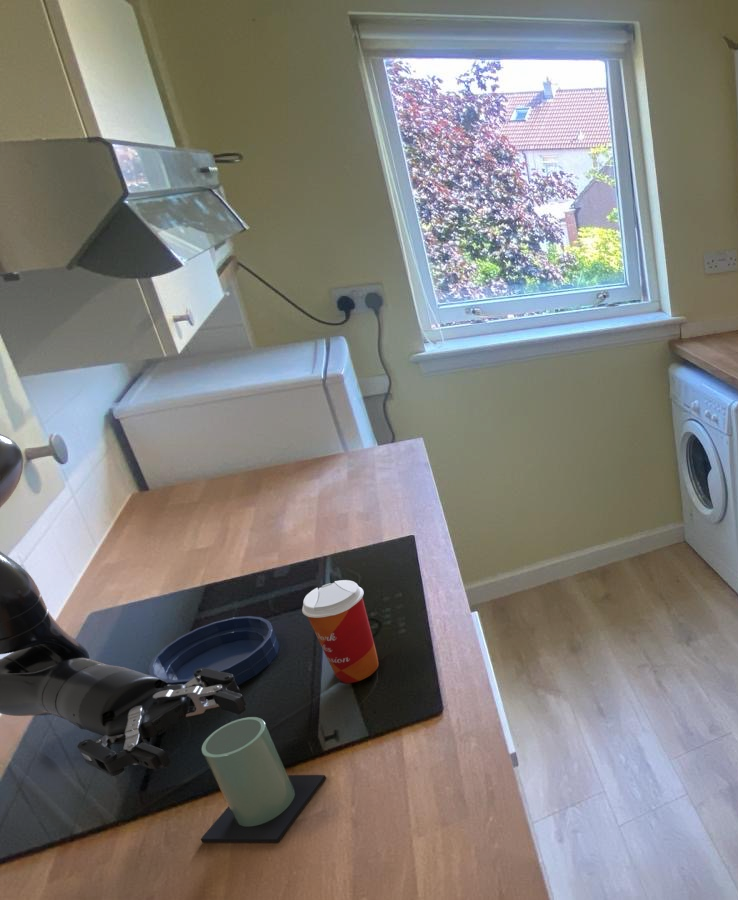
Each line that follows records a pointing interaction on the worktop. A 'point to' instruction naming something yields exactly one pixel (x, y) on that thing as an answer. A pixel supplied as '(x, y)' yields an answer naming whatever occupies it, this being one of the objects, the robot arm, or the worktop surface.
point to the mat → (273, 829)
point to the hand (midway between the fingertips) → (204, 731)
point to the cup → (249, 771)
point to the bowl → (218, 651)
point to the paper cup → (342, 629)
